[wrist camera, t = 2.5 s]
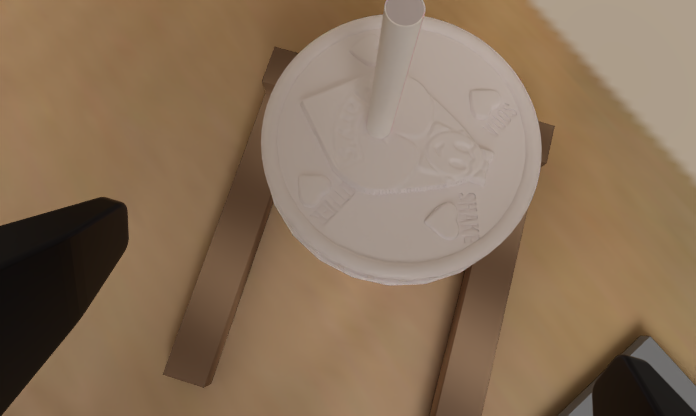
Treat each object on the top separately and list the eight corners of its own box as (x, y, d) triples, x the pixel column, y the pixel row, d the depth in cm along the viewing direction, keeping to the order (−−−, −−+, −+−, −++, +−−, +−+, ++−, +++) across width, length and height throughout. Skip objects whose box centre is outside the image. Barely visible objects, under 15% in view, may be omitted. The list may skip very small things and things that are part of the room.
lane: (461, 463, 18) (476, 481, 16) (171, 371, 19) (152, 378, 17) (534, 143, 21) (554, 125, 19) (280, 71, 21) (274, 46, 20)
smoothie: (327, 126, 21) (306, -223, 7) (468, 176, 21) (723, -95, 7) (272, 265, 20) (119, 156, 6) (421, 321, 19) (623, 339, 6)
